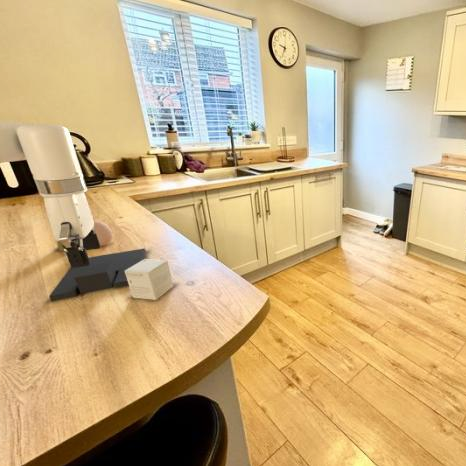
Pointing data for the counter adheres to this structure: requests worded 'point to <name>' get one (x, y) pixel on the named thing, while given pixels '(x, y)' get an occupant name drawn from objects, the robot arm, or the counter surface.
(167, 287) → the product box
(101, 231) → the egg
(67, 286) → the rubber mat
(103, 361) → the counter surface
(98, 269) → the foam pad
